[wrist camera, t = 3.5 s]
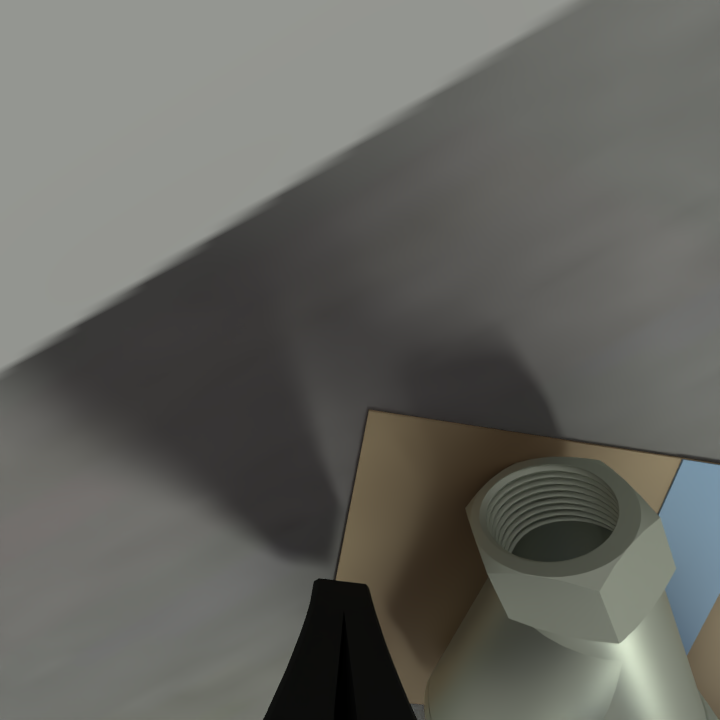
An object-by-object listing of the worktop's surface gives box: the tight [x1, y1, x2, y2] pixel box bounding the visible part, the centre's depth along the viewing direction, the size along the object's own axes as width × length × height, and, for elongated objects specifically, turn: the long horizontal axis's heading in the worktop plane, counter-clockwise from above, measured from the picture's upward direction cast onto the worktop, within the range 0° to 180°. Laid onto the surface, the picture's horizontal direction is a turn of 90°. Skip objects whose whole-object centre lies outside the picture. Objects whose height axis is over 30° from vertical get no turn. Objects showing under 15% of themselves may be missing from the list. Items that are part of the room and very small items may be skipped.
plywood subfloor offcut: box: [335, 410, 720, 720], centre depth 11 cm, size 20×10×1 cm, turn 80°
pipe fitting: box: [424, 457, 719, 720], centre depth 9 cm, size 8×4×7 cm
